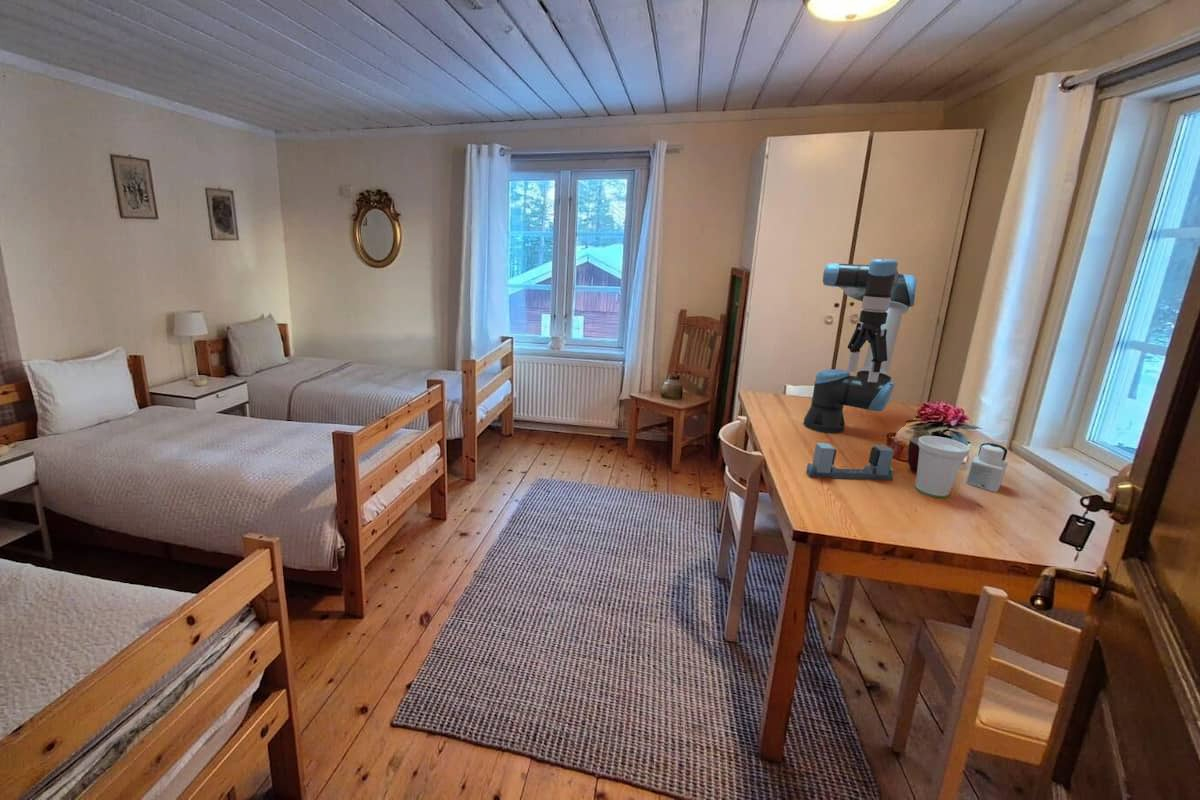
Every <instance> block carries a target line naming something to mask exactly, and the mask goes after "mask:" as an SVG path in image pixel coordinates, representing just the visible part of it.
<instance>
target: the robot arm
mask: <svg viewBox="0 0 1200 800" xmlns="http://www.w3.org/2000/svg"><path fill="white" fill-rule="evenodd" d="M898 265H899V263H898V260H896V259H881V258H880V259H879V258H878V259H877V258H873V259H872V260H871V261H870V263H869V264H854V263H853V264H850V263H839V262H836V263H827V264H826V265H825V267H824V270H823V274H822V284H823V285H824V286H826V287H828V286H829V287H834V288H835V287H837V288H839V289H841V290H842V291H843V293H844V294H845V295H846V296H847V297H850V298H851V299H854V300H857V301H860V302H862V303H861V309H862V310H861V311H860V314H859V319H858V321H859V322H857V323H856V327H855V329H854V332H853V334H852V336H851V338H850V341H849V343H848V345H847V349H848V350H849V352H850V354H849V358H848V359H849V360H848V365H847V370H845V369H836V368H835V369H831V368H830V369H823V370H820V371H818V372H817V373H816V376H815V381H814V382H813V383H814V386H813V391H812V399H811V404H810V407H809V409H808V411H807V412H806V415H805V416H804V418H803V422H802V424H803V426H804V427H806V428H808V429H811V430H813V431H817V432H822V433H828V434H839V433H843V432H844V431H845V426H846V424H845V417H844V411H843V410H844V406H847V407H852V408H857V409H858V408H859V409H862V410H863V409H864V410H867V411H874V412H882V411H884V410H885V409H886V408H887V406H888V403H889V401H890V399H891V396H892V394H893V390H894V388H895V383H894V382H893V381H892V376H891V375H890V374H889V371H890V367H891V362H892V359H893V355H894V350H895V345H896V343H897V338H898V333H899V330H900V327H901V322H902V318H903V315H904V314H905V313H907V312H908V311H909V309H910V308H912V307H914V306H915V300H916V288H917V286H916V285H917V278H916V276H915V275H913V274H905V273H902V274H901V273H899V271H898ZM866 341H867V342H868V343H869V344H868V347H867V351H866V355H865V358H864V363H863V366H862V368H861V369H859V370H857V369H858V363H859V359H860V355H861V349H862V348H863V345H865V343H866ZM851 372H852V373H854V372H855V373H856V375H851Z"/></svg>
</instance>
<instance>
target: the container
mask: <svg viewBox="0 0 1200 800" xmlns="http://www.w3.org/2000/svg"><path fill="white" fill-rule="evenodd" d="M1007 453H1008V449H1007V448H1006V447H1004V446H1003V445H1000V444H997V443H991V442H986V443H982V444H980V447H979V450H978V453H977V455H976V456H975V457H974V458H973V460H972V461H971V465H970V467H969V468H970V469H969V471H968V475H967V480H966V484H967V485H970V486H973V487H977V488H980V489H984V490H986V491H990V492H994V493H997V492H998V491H999V489H1000V487H1002V484H1003V480H1004V476H1005V473H1006V470H1007V466H1008V462H1007V461H1005V460H1006V457H1007Z"/></svg>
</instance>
